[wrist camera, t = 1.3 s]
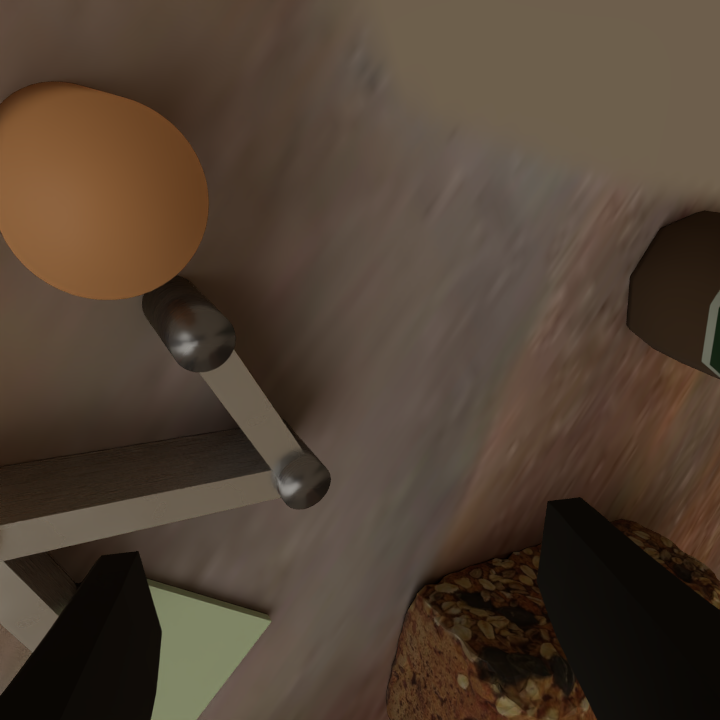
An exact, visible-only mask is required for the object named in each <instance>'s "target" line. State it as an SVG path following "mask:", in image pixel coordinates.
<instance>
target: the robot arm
mask: <svg viewBox="0 0 720 720" xmlns="http://www.w3.org/2000/svg"><path fill="white" fill-rule="evenodd" d="M537 584H538V587H539V590H540V593H541V596H542V599H543V602H544V604H545V607H546V610H547V613H548V616H549V618H550V621H551V624H552V627H553V629H554V632H555V635H556V637H557V639H558V641H559V643H560V645H561V648H562V650H563V652H564V654H565V656H566V658H567V660H568V662H569V664H570V666H571V668H572V670H573V672H574V674H575V676H576V678H577V680H578V682H579V684H580V686H581V688H582V690H583V692H584V694H585V696H586V698H587V700H588V702H589V704H590V707H591V709H592V711H593V713H594V715H595V717H596V719H597V720H720V610H719V609H718V608H717V607H715V606H714V605H713V604H711V603H710V602H709V601H707V600H706V599H705V598H703V597H702V596H701V595H699V594H698V593H697V592H695V591H694V590H693V589H691V588H690V587H689V586H688V585H686V584H685V583H684V582H682V581H681V580H680V579H679V578H677V577H676V576H675V575H674V574H672V573H671V572H670V571H669V570H667V569H666V568H665V567H663V566H662V565H661V564H660V563H659V562H657V561H656V560H655V559H654V558H652V557H651V556H650V555H649V554H647V553H646V552H645V551H644V550H643V549H641V548H640V547H639V546H638V545H637V544H635V543H634V542H633V541H632V540H631V539H629V538H628V537H627V536H626V535H625V534H623V533H622V532H621V531H620V530H619V529H618V528H616V527H615V526H614V525H613V524H612V523H610V522H609V521H608V520H607V519H606V518H605V517H603V516H602V515H601V514H600V513H599V512H597V511H596V510H595V509H594V508H593V507H591V506H590V505H589V504H588V503H587V502H585V501H584V500H583V499H582V498H580V497H579V498H571V499H562V500H554V501H548V503H547V510H546V517H545V524H544V531H543V538H542V546H541V553H540V560H539V567H538V574H537ZM161 638H162V629H161V626H160V622H159V619H158V616H157V612H156V609H155V606H154V602H153V599H152V595H151V592H150V589H149V585H148V582H147V579H146V575H145V572H144V569H143V565H142V562H141V558H140V555H139V552H138V551H136V552H128V553H119V554H111V555H103V556H101V557H100V558H99V559H98V560H97V561H96V563H95V564H94V566H93V567H92V569H91V570H90V571H89V573H88V574H87V576H86V577H85V579H84V580H83V582H82V583H81V585H80V586H79V588H78V589H77V591H76V592H75V594H74V595H73V597H72V598H71V599H70V601H69V602H68V604H67V605H66V607H65V608H64V610H63V611H62V612H61V614H60V615H59V617H58V618H57V620H56V621H55V622H54V624H53V625H52V627H51V628H50V630H49V631H48V632H47V634H46V635H45V637H44V638H43V639H42V641H41V642H40V643H39V645H38V646H37V647H36V649H35V650H34V652H33V653H32V654H31V656H30V657H29V658H28V660H27V661H26V662H25V664H24V665H23V667H22V668H21V669H20V671H19V672H18V673H17V675H16V676H15V677H14V679H13V680H12V681H11V683H10V684H9V685H8V687H7V688H6V689H5V690H4V692H3V693H2V694H1V695H0V720H151V717H152V712H153V707H154V702H155V697H156V691H157V681H158V672H159V662H160V650H161Z"/></svg>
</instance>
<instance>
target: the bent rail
mask: <svg viewBox="0 0 720 720" xmlns="http://www.w3.org/2000/svg"><path fill="white" fill-rule="evenodd" d="M142 308H143V312H144V315H145V316H146V318H147V320H148V321H149V322H150V324H151V325H152V327H153V328H154V330H155V331H156V333H157V334H158V335H159V337H160V338H161V340H162V341H163V343H164V344H165V346H166V347H167V348H168V350H169V351H170V353H171V354H172V356H173V357H174V359H175V360H176V361H177V363H178V364H179V365H180V366H182V367H183V368H185V369H187V370H189V371H192V372H199V373H200V375H201V376H202V377H203V379H204V380H205V381H206V383H207V384H208V385H209V387H210V388H211V389H212V391H213V392H214V393H215V395H216V396H217V397H218V399H219V400H220V401H221V403H222V404H223V405H224V407H225V408H226V409H227V411H228V412H229V413H230V415H231V416H232V417H233V419H234V420H235V421H236V423H237V424H238V425H239V427H240V428H238V429H232V430H226V431H219V432H213V433H207V434H201V435H195V436H189V437H182V438H176V439H170V440H164V441H158V442H151V443H145V444H139V445H133V446H127V447H121V448H114V449H108V450H102V451H96V452H90V453H83V454H77V455H71V456H65V457H59V458H53V459H46V460H40V461H34V462H28V463H22V464H15V465H9V466H3V467H0V624H1V625H2V626H3V627H5V628H6V629H7V630H8V631H9V632H10V633H11V634H12V635H13V636H15V637H16V638H17V639H18V640H19V641H20V642H21V643H22V644H23V645H25V646H26V647H27V648H28V649H29V650H30V651H31V652H32V653H33V652H34V650H35V649H36V647H37V646H38V645H39V643H40V642H41V641H42V639H43V638H44V637H45V635H46V634H47V632H48V631H49V630H50V628H51V627H52V625H53V624H54V622H55V621H56V620H57V618H58V617H59V615H60V614H61V612H62V611H63V610H64V608H65V607H66V605H67V604H68V602H69V601H70V599H71V598H72V597H73V595H74V594H75V592H76V591H77V589H78V588H79V586H80V585H81V584H75V583H74V582H73V581H72V580H71V578H70V577H69V576H68V575H67V574H66V573H65V572H64V571H63V570H62V569H61V568H60V567H59V565H58V564H57V563H56V562H55V561H54V560H53V559H52V558H51V557H50V556H49V555H48V554H47V553H46V551H50V550H54V549H59V548H63V547H67V546H72V545H76V544H80V543H85V542H89V541H94V540H98V539H102V538H107V537H111V536H115V535H120V534H124V533H129V532H133V531H137V530H142V529H146V528H150V527H155V526H159V525H164V524H168V523H172V522H177V521H181V520H186V519H190V518H194V517H199V516H203V515H207V514H212V513H216V512H221V511H225V510H229V509H234V508H238V507H242V506H247V505H251V504H256V503H260V502H264V501H269V500H273V499H277V498H282V499H283V500H284V502H285V503H286V504H287V505H288V506H289V507H290V508H293V509H306V508H309V507H311V506H313V505H315V504H316V503H318V502H319V501H320V500H321V499H322V498H323V497H324V496H325V494H326V493H327V491H328V489H329V486H330V482H331V477H330V473H329V471H328V470H327V468H326V467H325V466H324V465H323V464H322V463H321V461H320V460H319V459H318V458H317V457H316V456H315V455H314V453H313V452H312V451H311V450H310V449H309V448H308V447H307V445H306V444H305V443H304V442H303V441H302V440H301V439H300V437H299V436H298V435H297V434H296V433H295V432H294V431H293V429H292V428H291V427H290V426H289V425H288V424H287V423H286V421H285V420H283V419H282V418H280V416H279V415H278V413H277V412H276V411H275V409H274V408H273V406H272V405H271V403H270V402H269V400H268V399H267V397H266V396H265V394H264V393H263V391H262V390H261V389H260V387H259V386H258V384H257V383H256V381H255V380H254V378H253V377H252V375H251V374H250V372H249V371H248V369H247V368H246V367H245V365H244V364H243V362H242V361H241V359H240V358H239V356H238V355H237V353H236V352H235V350H234V347H235V341H236V336H235V331H234V328H233V326H232V324H231V323H230V322H229V321H228V319H227V318H226V317H225V316H224V315H223V314H222V313H221V312H220V311H219V310H218V309H217V308H216V307H215V306H214V305H213V304H212V303H211V302H210V301H209V300H208V299H207V298H206V297H205V296H204V295H203V294H202V293H201V292H200V291H199V290H198V289H197V288H196V287H195V286H194V285H193V284H192V283H191V282H189V281H188V280H187V279H185V278H182V277H179V276H175V277H173V278H172V279H171V280H169V281H168V282H166V283H165V284H163V285H162V286H160V287H158V288H156V289H154V290H152V291H150V292H147V293H144V296H143V300H142Z"/></svg>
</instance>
